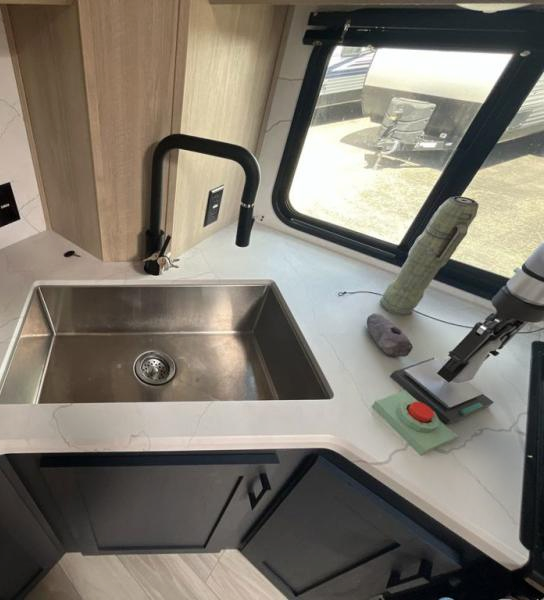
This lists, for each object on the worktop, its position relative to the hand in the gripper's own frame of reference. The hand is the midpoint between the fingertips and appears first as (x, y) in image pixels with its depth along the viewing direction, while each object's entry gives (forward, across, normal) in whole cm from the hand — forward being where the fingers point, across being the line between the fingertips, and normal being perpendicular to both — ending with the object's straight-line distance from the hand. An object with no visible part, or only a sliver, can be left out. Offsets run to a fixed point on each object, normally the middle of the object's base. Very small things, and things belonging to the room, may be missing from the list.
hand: (453, 373), depth 74 cm
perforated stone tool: (+7, -1, -17) cm, 18 cm away
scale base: (+7, 0, 0) cm, 7 cm away
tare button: (+3, +14, +4) cm, 15 cm away
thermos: (+7, -19, -27) cm, 34 cm away
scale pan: (+4, 0, -1) cm, 4 cm away
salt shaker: (+1, 0, 0) cm, 1 cm away
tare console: (+7, +14, +4) cm, 16 cm away
